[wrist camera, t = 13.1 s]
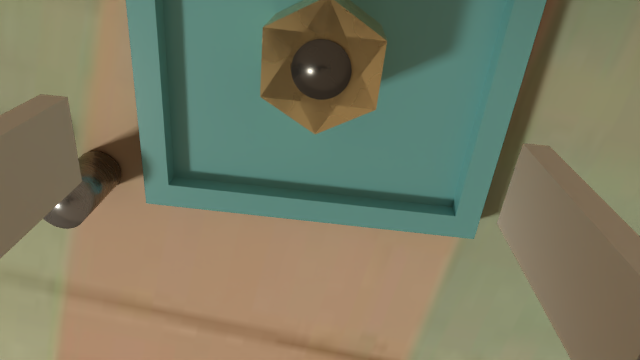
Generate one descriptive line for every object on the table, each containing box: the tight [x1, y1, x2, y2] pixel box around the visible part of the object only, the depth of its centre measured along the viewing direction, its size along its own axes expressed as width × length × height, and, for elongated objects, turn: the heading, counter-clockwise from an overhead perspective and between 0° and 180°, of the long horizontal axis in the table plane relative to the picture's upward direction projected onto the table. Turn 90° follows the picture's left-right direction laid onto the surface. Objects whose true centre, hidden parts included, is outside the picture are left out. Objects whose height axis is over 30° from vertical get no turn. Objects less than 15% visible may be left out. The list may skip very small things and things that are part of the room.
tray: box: [126, 0, 547, 239], centre depth 27 cm, size 22×22×2 cm
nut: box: [260, 0, 387, 134], centre depth 25 cm, size 6×7×5 cm
